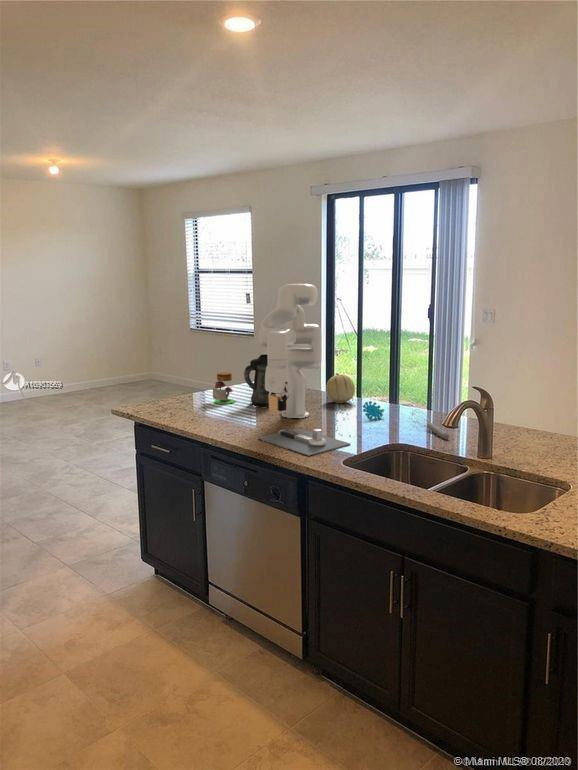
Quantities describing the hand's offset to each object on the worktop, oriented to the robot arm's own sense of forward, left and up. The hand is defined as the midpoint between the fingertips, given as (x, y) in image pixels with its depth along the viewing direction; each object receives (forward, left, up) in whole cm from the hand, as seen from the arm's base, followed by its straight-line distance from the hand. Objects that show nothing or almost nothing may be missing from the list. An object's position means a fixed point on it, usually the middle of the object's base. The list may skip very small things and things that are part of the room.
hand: (277, 408), depth 232 cm
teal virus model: (0, +57, -14) cm, 58 cm away
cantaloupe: (-33, +69, -14) cm, 77 cm away
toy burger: (-74, +26, -14) cm, 79 cm away
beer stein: (-55, +38, -14) cm, 68 cm away
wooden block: (0, 0, -1) cm, 1 cm away
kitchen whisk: (+28, +60, -14) cm, 68 cm away
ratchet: (+5, +8, -13) cm, 16 cm away
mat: (+6, +8, -14) cm, 17 cm away
